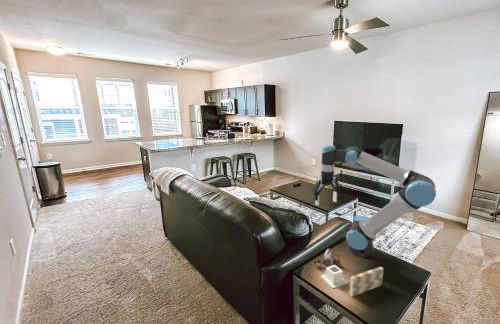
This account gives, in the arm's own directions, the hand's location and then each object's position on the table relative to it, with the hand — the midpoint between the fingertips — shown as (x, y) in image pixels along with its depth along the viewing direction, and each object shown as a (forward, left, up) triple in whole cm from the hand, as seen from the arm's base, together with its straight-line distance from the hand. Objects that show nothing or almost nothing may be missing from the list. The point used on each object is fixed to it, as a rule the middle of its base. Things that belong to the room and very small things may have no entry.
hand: (326, 203), depth 147 cm
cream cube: (+13, +25, -32) cm, 43 cm away
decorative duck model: (+8, +11, -33) cm, 36 cm away
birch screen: (+3, +37, -33) cm, 49 cm away
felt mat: (+13, +25, -33) cm, 43 cm away
